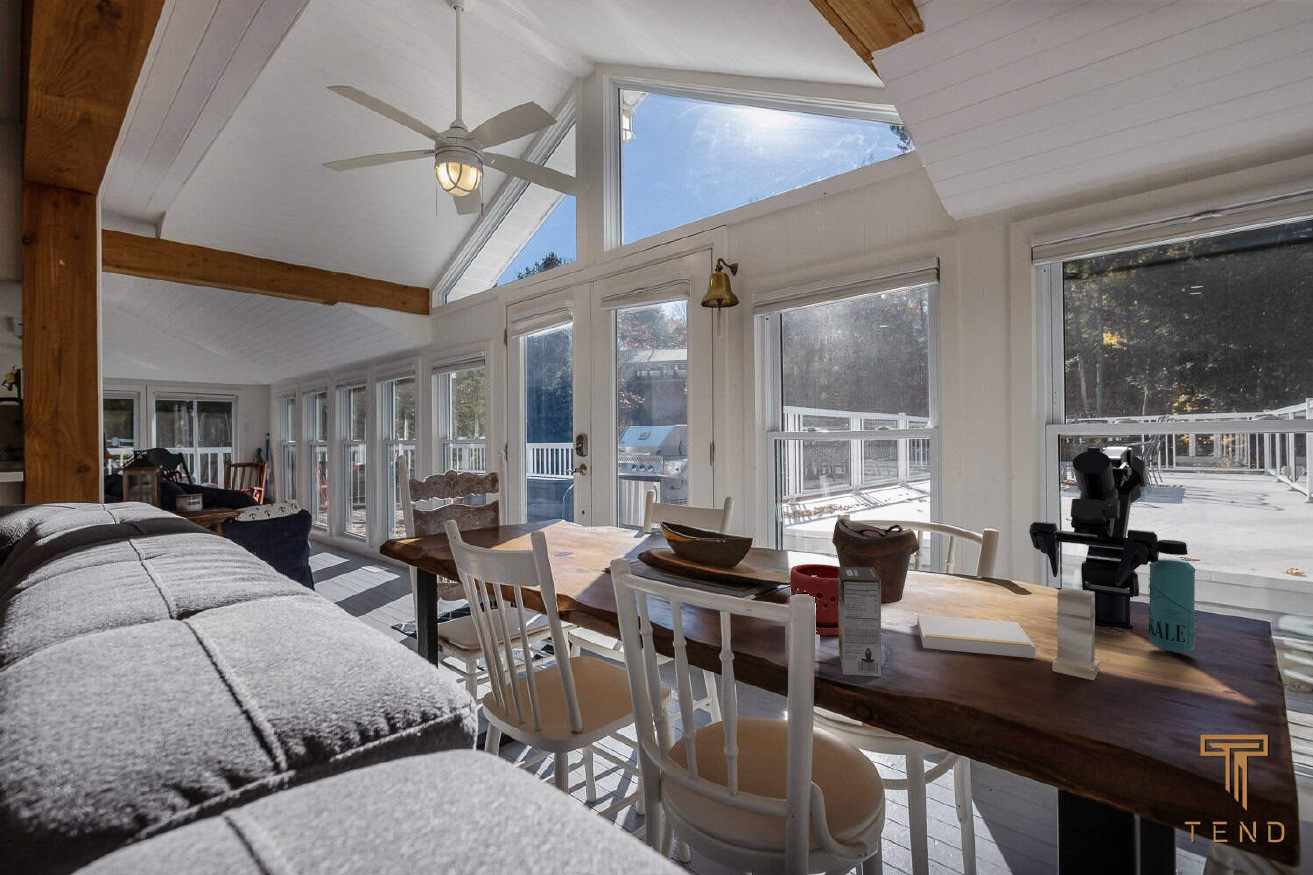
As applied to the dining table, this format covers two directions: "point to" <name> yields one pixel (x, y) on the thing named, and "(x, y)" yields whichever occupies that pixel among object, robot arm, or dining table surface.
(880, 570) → the brown tapered planter
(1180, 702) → the dining table surface
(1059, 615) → the white stepped pillar
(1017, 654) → the white rectangular slab
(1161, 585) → the beverage bottle
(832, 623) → the plant pot
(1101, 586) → the robot arm
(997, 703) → the dining table surface
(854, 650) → the coffee box
